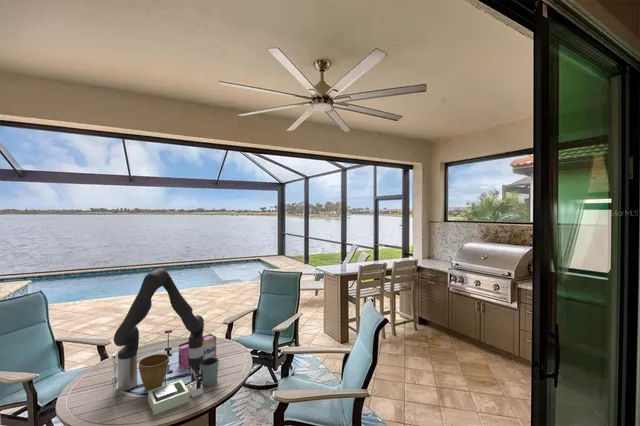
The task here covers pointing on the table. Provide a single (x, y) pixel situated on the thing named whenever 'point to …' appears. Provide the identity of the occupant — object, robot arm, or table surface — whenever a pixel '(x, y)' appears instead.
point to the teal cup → (209, 371)
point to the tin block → (165, 393)
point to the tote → (169, 402)
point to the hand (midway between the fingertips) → (196, 384)
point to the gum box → (208, 350)
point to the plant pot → (153, 370)
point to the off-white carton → (195, 390)
